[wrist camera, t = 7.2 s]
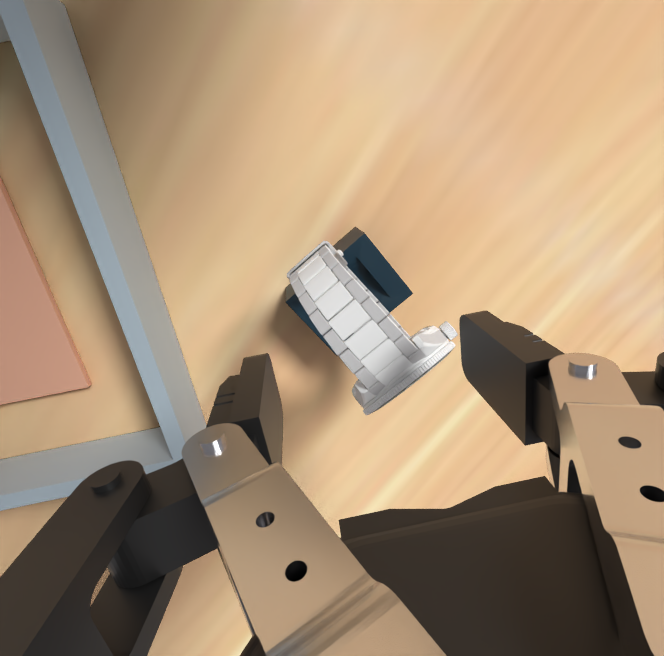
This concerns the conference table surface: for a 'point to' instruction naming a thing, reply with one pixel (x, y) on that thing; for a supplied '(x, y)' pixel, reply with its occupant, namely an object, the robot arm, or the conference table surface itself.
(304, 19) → the conference table surface
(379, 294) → the watch
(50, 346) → the resting pad
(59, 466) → the grey flat square frame
